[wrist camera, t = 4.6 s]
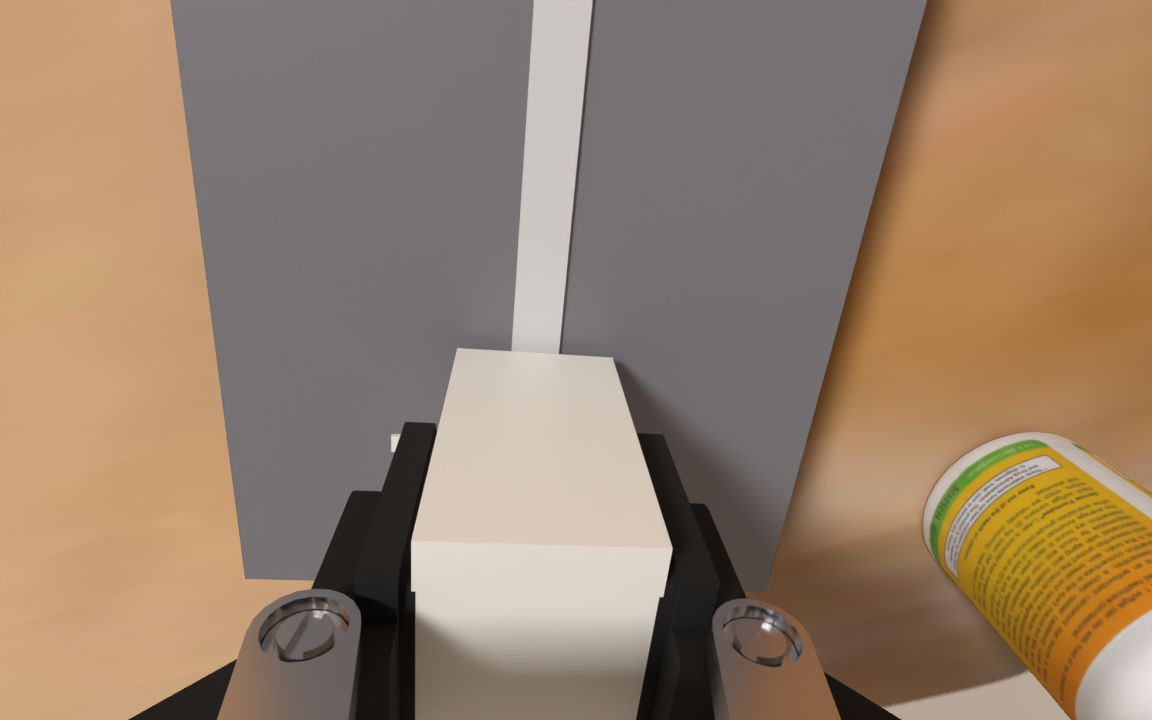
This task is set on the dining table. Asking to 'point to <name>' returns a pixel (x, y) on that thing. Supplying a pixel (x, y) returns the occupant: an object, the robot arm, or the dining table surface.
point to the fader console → (529, 227)
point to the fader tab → (535, 545)
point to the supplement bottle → (1054, 566)
